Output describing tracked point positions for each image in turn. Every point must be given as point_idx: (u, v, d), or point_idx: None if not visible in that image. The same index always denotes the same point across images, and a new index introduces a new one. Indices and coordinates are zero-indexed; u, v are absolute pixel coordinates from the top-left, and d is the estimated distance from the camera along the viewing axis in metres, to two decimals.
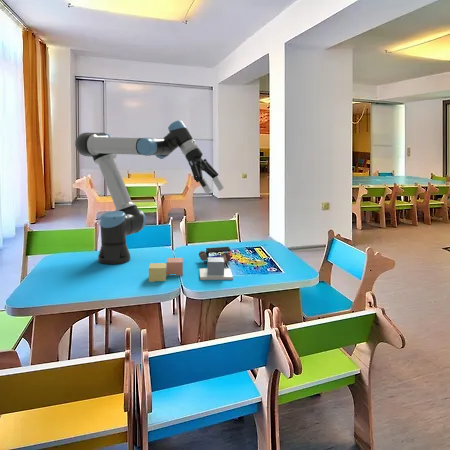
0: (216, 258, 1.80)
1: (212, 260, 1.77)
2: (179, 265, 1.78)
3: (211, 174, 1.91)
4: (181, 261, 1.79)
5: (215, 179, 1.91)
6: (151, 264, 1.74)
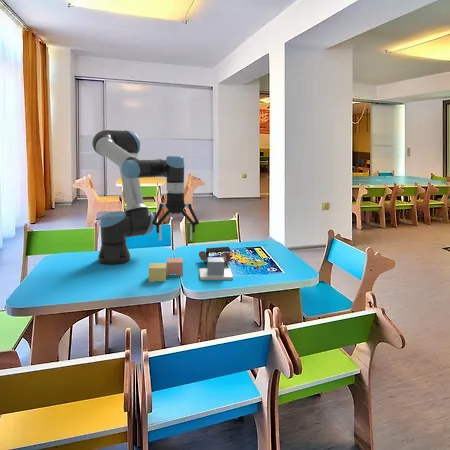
0: (216, 258, 1.80)
1: (212, 260, 1.77)
2: (179, 265, 1.78)
3: (189, 221, 1.78)
4: (181, 261, 1.79)
5: (190, 227, 1.79)
6: (151, 264, 1.74)
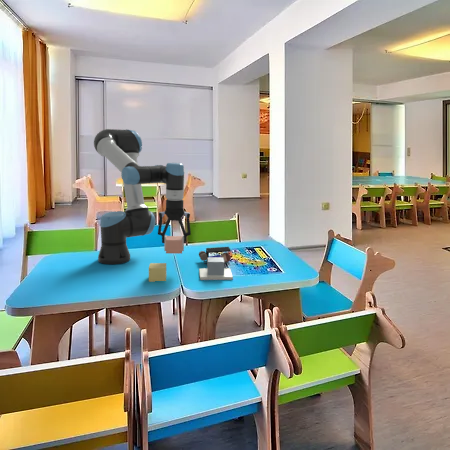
0: (216, 258, 1.80)
1: (212, 260, 1.77)
2: (178, 243, 1.76)
3: (182, 230, 1.78)
4: (181, 239, 1.77)
5: (182, 238, 1.79)
6: (151, 264, 1.74)
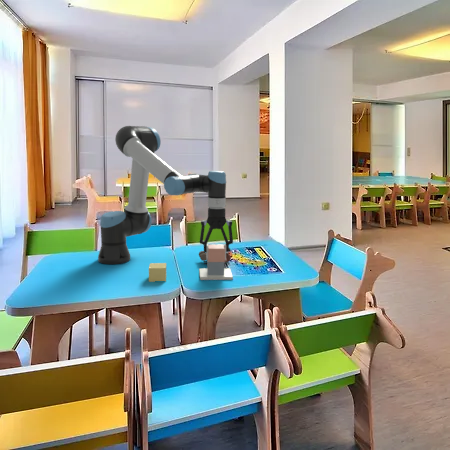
0: None
1: None
2: (221, 251, 1.74)
3: (224, 239, 1.76)
4: (223, 247, 1.75)
5: (224, 246, 1.77)
6: (151, 264, 1.74)
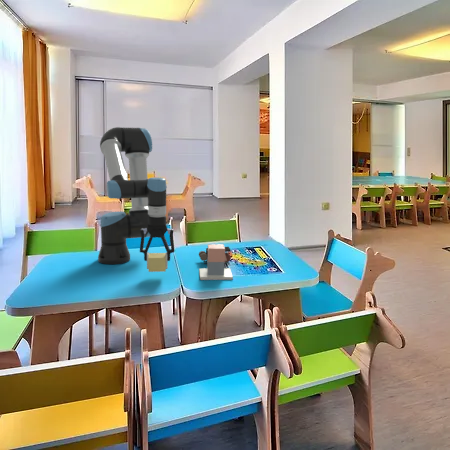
0: None
1: None
2: (221, 251, 1.74)
3: None
4: (223, 247, 1.75)
5: (165, 255, 1.72)
6: (151, 253, 1.74)
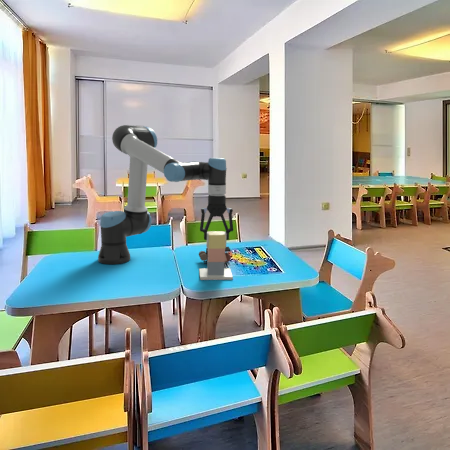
0: None
1: None
2: (221, 251, 1.74)
3: (224, 226, 1.75)
4: None
5: None
6: (209, 231, 1.77)
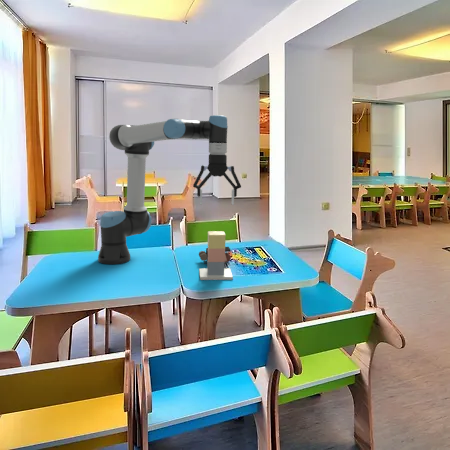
0: None
1: None
2: (221, 251, 1.74)
3: None
4: None
5: (232, 191, 1.72)
6: (209, 231, 1.77)
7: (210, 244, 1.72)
